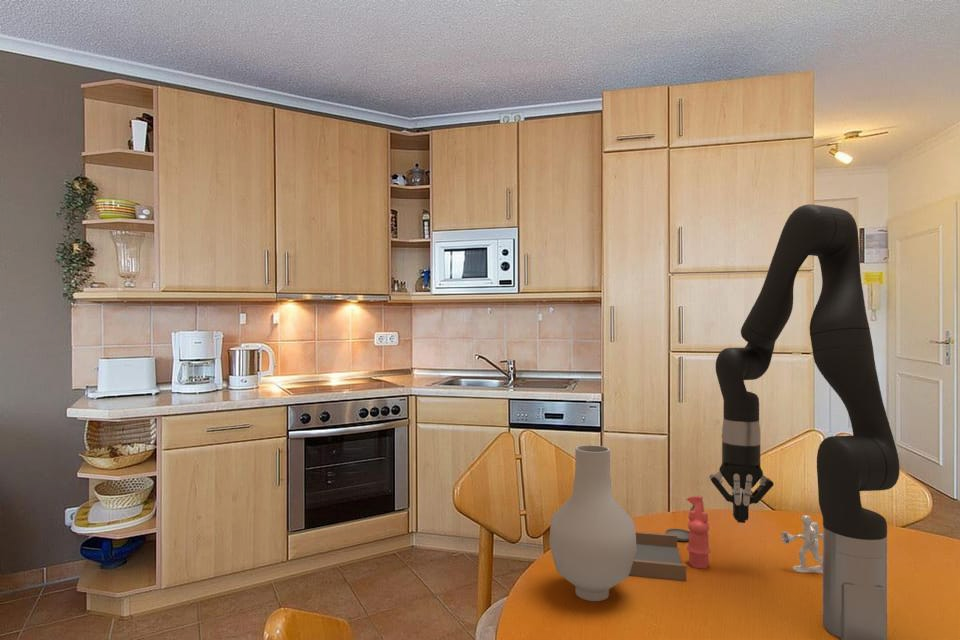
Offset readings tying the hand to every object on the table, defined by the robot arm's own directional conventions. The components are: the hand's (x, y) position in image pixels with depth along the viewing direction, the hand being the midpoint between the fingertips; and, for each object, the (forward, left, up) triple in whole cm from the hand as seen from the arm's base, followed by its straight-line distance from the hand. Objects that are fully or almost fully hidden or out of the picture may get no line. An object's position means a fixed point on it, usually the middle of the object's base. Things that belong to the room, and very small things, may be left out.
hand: (740, 521), depth 125 cm
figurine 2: (0, +9, -10) cm, 13 cm away
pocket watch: (+16, +10, -10) cm, 21 cm away
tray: (0, +21, -10) cm, 23 cm away
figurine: (+2, -13, -10) cm, 17 cm away
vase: (-19, +31, -10) cm, 37 cm away
